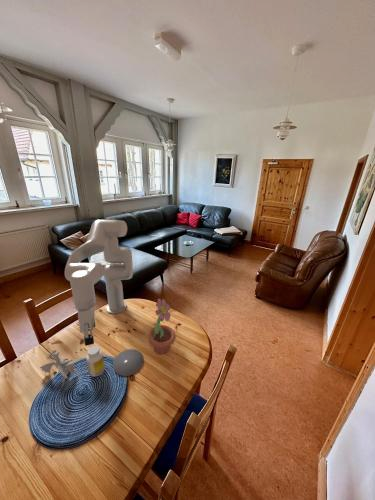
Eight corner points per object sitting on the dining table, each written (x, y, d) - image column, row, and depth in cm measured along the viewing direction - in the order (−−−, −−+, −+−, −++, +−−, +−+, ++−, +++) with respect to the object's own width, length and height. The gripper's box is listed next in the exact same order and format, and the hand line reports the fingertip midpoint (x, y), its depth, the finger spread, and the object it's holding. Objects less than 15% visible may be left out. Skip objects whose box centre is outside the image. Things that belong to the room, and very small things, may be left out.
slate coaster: (112, 354, 103) (112, 353, 102) (141, 347, 107) (141, 346, 107) (113, 380, 90) (113, 378, 90) (145, 371, 95) (145, 369, 95)
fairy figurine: (71, 391, 83) (47, 371, 77) (48, 384, 92) (25, 366, 86) (88, 367, 90) (67, 347, 84) (65, 362, 99) (45, 345, 93)
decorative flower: (170, 364, 99) (171, 314, 88) (143, 358, 101) (141, 309, 90) (177, 340, 113) (179, 294, 101) (154, 335, 115) (153, 290, 104)
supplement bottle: (107, 365, 97) (104, 344, 92) (100, 378, 91) (97, 357, 86) (93, 363, 98) (90, 343, 93) (86, 376, 91) (81, 355, 87)
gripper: (77, 290, 86) (83, 323, 92) (70, 317, 71) (78, 354, 77) (96, 288, 88) (101, 320, 94) (94, 313, 73) (99, 349, 79)
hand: (90, 335), depth 86 cm, fingers open, 9 cm apart
